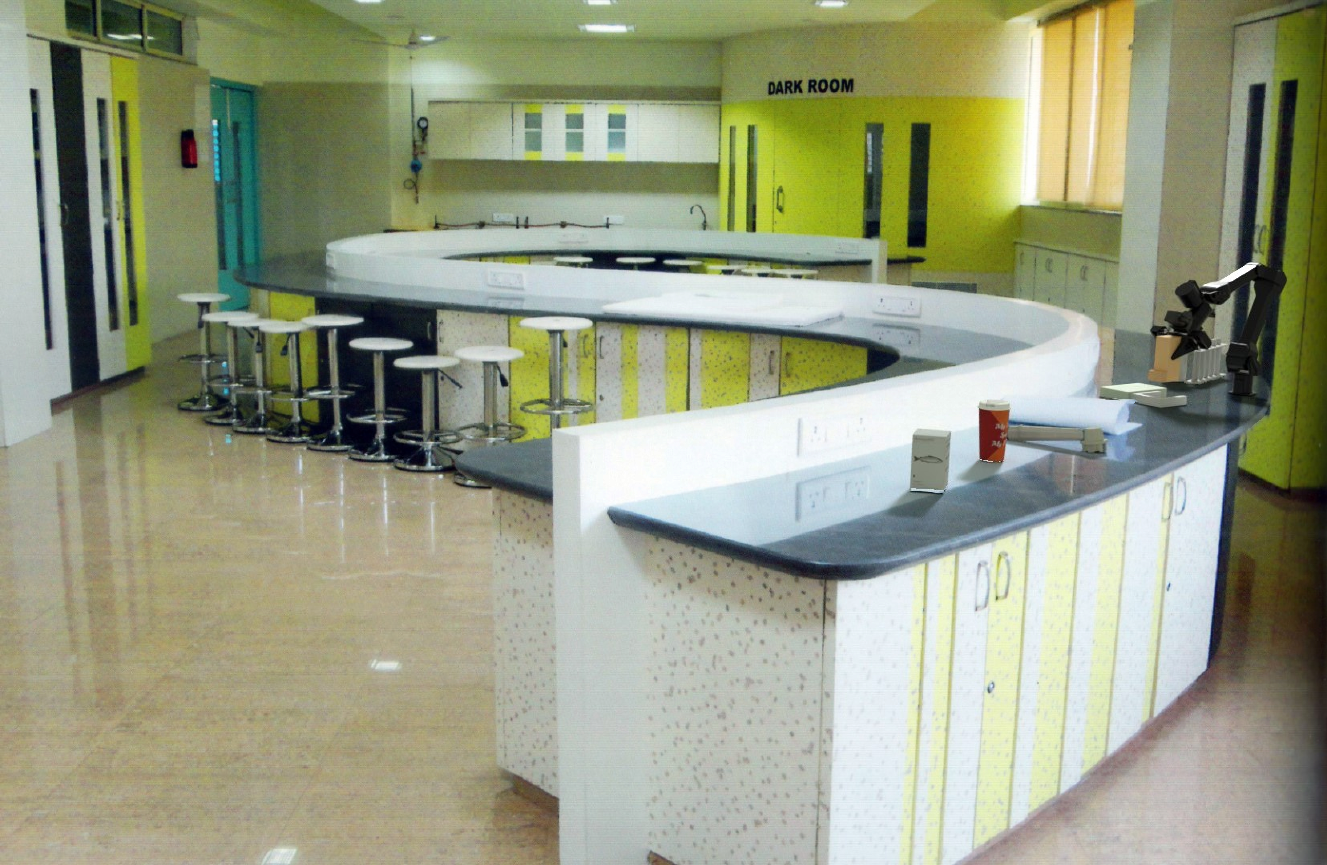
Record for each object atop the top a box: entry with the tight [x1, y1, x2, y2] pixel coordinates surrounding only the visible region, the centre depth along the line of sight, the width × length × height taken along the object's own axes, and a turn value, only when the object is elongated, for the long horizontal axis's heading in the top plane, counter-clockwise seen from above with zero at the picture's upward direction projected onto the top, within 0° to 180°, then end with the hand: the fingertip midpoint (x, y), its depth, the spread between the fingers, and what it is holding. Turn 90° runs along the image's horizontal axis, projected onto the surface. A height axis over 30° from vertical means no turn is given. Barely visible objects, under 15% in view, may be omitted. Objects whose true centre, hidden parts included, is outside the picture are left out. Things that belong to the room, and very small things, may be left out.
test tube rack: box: [1183, 337, 1230, 385], centre depth 395 cm, size 25×4×13 cm, turn 136°
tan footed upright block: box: [1147, 335, 1182, 384], centre depth 351 cm, size 7×5×13 cm
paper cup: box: [977, 399, 1012, 463], centre depth 280 cm, size 8×8×14 cm
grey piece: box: [1006, 424, 1109, 453], centre depth 296 cm, size 5×7×25 cm
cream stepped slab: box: [1099, 382, 1188, 409], centre depth 359 cm, size 16×22×3 cm
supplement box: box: [909, 428, 952, 490], centre depth 254 cm, size 7×7×13 cm
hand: (1164, 358), depth 351 cm, fingers closed on tan footed upright block, 5 cm apart
